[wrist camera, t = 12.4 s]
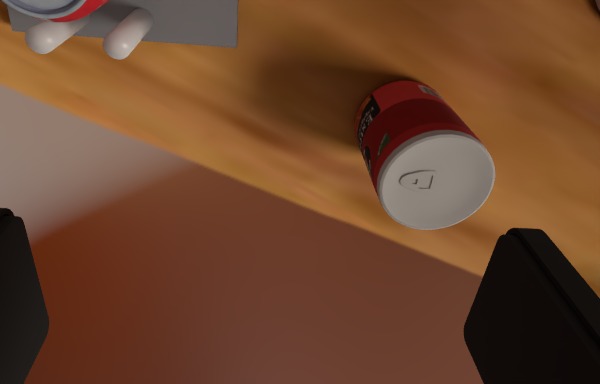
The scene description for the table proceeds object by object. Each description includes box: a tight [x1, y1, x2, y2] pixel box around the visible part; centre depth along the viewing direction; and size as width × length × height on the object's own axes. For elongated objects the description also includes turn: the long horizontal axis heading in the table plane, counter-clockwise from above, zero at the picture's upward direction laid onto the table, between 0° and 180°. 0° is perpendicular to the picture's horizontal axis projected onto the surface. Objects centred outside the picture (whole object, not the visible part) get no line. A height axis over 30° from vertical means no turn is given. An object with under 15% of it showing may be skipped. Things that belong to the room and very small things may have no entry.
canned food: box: [355, 80, 495, 230], centre depth 37 cm, size 8×8×11 cm
